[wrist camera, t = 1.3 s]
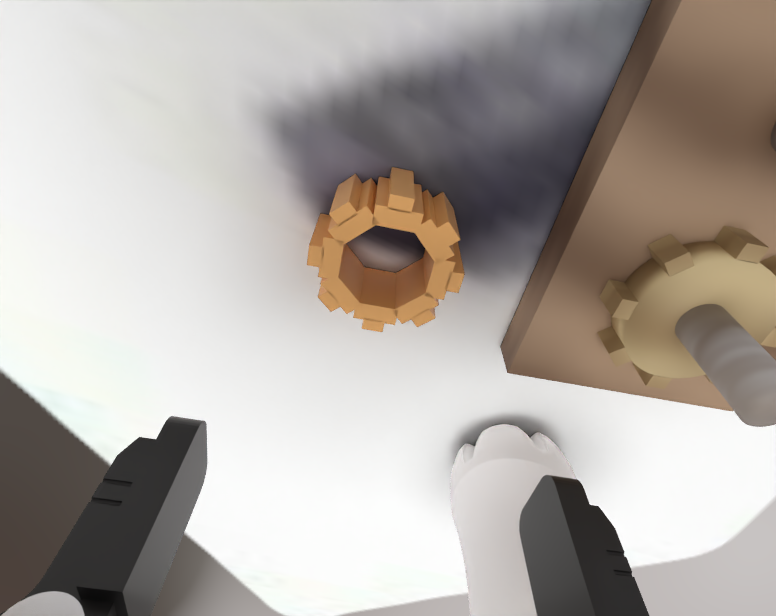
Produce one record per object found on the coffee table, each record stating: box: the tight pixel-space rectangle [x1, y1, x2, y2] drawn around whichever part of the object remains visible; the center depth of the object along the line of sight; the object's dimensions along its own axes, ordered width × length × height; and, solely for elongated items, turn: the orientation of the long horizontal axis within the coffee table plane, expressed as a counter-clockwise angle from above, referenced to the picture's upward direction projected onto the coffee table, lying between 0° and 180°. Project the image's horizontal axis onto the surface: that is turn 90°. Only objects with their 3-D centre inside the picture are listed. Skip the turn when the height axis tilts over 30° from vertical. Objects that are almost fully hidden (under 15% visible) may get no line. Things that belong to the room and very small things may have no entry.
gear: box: [307, 167, 465, 332], centre depth 20 cm, size 6×6×3 cm
